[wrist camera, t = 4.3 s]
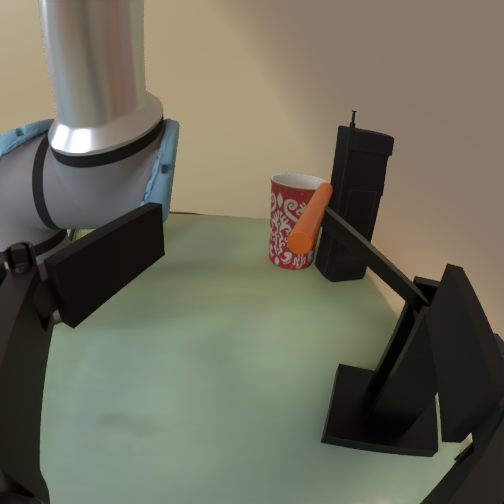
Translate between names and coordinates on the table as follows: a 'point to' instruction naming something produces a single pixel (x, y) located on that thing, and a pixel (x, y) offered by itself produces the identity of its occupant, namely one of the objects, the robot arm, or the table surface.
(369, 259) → the switch lever
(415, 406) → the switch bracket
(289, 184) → the mug
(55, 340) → the table surface
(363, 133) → the portable radio
